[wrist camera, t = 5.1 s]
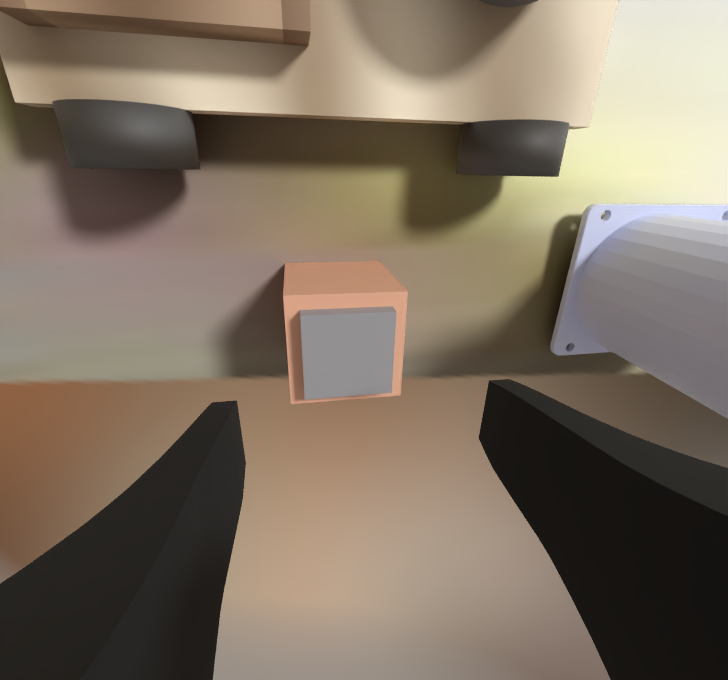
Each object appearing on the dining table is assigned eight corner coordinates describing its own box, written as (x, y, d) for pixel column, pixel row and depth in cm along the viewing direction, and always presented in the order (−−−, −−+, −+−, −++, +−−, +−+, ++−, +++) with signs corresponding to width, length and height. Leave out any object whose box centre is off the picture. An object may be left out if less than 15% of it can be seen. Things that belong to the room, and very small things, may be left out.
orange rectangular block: (379, 261, 18) (412, 296, 13) (376, 344, 20) (404, 403, 15) (285, 262, 18) (282, 301, 13) (290, 349, 20) (290, 413, 14)
